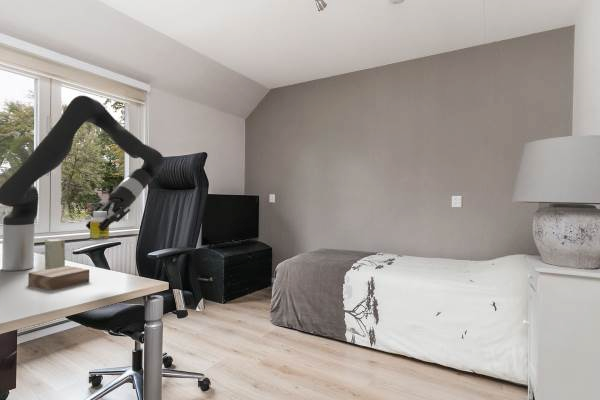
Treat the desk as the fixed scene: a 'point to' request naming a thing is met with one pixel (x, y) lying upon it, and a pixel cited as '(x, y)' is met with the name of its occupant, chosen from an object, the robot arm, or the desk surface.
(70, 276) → the walnut plinth
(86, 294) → the desk surface
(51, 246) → the skincare box
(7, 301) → the desk surface
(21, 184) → the robot arm
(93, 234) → the supplement bottle
